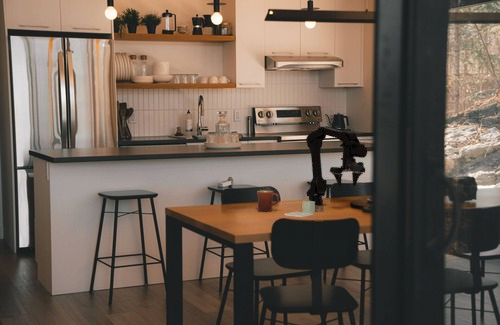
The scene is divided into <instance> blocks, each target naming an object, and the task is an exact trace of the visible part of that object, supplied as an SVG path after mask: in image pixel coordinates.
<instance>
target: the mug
mask: <svg viewBox="0 0 500 325" xmlns="http://www.w3.org/2000/svg"><path fill="white" fill-rule="evenodd" d="M256 194H257V211H258V212H260V213H261V212H262V213H269V212H271V211H272V210H273V206H276V205H277V204H278V203H279V200H280V195H279V194H278V193H277V192H274V190H257V191H256ZM273 196H276V201H275V202H273Z"/></svg>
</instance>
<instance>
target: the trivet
mask: <svg viewBox="0 0 500 325" xmlns="http://www.w3.org/2000/svg"><path fill="white" fill-rule="evenodd" d="M284 216H287V217H288V216H289V217H297V218H305V217H309V216H313V214H312V213H304V212H302V211H292V212H287V213H286V212H285V213H284Z"/></svg>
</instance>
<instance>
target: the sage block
mask: <svg viewBox="0 0 500 325" xmlns="http://www.w3.org/2000/svg"><path fill="white" fill-rule="evenodd" d="M301 212H304V213H312V215H313V214H315V213H316V212H315V201H309V200H304V201H302V208H301Z"/></svg>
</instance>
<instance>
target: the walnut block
mask: <svg viewBox="0 0 500 325" xmlns="http://www.w3.org/2000/svg"><path fill="white" fill-rule="evenodd" d="M322 212H324V205H323V206H318V205H315V213H322Z"/></svg>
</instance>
